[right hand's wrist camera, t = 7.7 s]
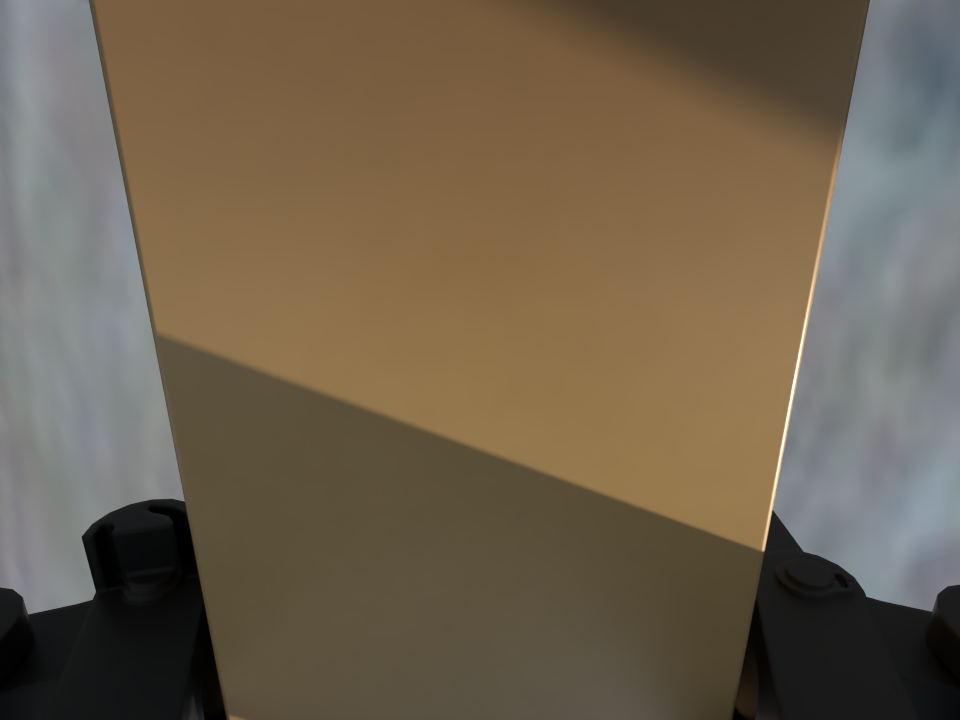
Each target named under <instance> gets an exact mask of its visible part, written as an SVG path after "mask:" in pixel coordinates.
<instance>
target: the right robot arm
mask: <svg viewBox="0 0 960 720" xmlns="http://www.w3.org/2000/svg"><path fill="white" fill-rule="evenodd" d="M82 540H83V544H84V548H85V551H86V555H87V559H88V563H89V567H90V570H91V574H92V578H93V582H94V585H95V589H96V593H95V596H94V598H93V600H90V601H87V602H83V603H80V604H76V605H71V606H66V607H62V608H57V609H52V610H48V611H43V612H38V613H34V614H29V615H28V613H27V610H26V607H25V603H24V600H23V597H22V596H20V595H19V594H18V593H17V592H15V591H14V590H13V589H6V588H0V720H227V719H226V713H225V708H224V703H223V698H222V692H221V687H220V682H219V677H218V672H217V666H216V661H215V656H214V651H213V645H212V640H211V635H210V630H209V625H208V619H207V614H206V609H205V604H204V598H203V593H202V588H201V583H200V577H199V572H198V567H197V562H196V557H195V551H194V546H193V541H192V536H191V530H190V525H189V520H188V515H187V510H186V504H185V502H183V501H179V500H175V499H154V500H148V501H143V502H139V503H134V504H130V505H128V506H125V507H123V508H120V509H118V510H115V511H113V512H110V513H109V514H107V515H106V516H104V517H102V518H101V519H99V520H98V521H96V522H95V523H93V524H92V525H91V526H90V528H89V529H88V530H87V531H86V532H85V533H84V535H83V536H82ZM732 720H960V585H955V586H948V587H946V588H945V589H944V590H943V591H941V592H940V593H939V594H938V595H937V598H936V602H935V605H934V608H933V611H932V612H930V611H925V610H921V609H916V608H911V607H907V606H902V605H897V604H892V603H888V602H883V601H879V600H876V599H872V598H869V597H866V595H865V592H864V590H863V589H862V588H861V586H860V585H859V583H858V582H857V581H856V579H855V578H854V577H853V576H852V575H850V574H849V573H848V572H847V571H845V570H844V569H843V568H841V567H840V566H839V565H837V564H835V563H833V562H830V561H828V560H826V559H824V558H822V557H820V556H817V555H813V554H809V553H805V552H803V551H802V549H801V548H800V546H799V545H798V544H797V542H796V541H795V540H794V538H793V537H792V536H791V534H790V533H789V531H788V530H787V529H786V527H785V526H784V525H783V523H782V522H781V521H780V519H779V518H778V516H777V515H776V514H775V512H774V511H773V510H772V515H771V520H770V525H769V531H768V536H767V541H766V546H765V552H764V557H763V562H762V567H761V573H760V578H759V583H758V588H757V594H756V599H755V604H754V609H753V614H752V620H751V625H750V630H749V635H748V641H747V646H746V651H745V656H744V662H743V667H742V672H741V677H740V683H739V688H738V693H737V698H736V703H735V709H734V714H733V719H732Z"/></svg>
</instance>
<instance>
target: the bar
mask: <svg viewBox="0 0 960 720" xmlns="http://www.w3.org/2000/svg"><path fill="white" fill-rule="evenodd" d="M869 2H870V0H89V3H90V8H91V13H92V19H93V24H94V29H95V34H96V39H97V45H98V50H99V55H100V60H101V66H102V71H103V76H104V81H105V86H106V92H107V97H108V102H109V107H110V113H111V118H112V123H113V128H114V133H115V139H116V144H117V149H118V154H119V160H120V165H121V170H122V175H123V180H124V186H125V191H126V196H127V201H128V207H129V212H130V217H131V222H132V228H133V233H134V238H135V243H136V248H137V254H138V259H139V264H140V269H141V275H142V280H143V285H144V290H145V295H146V301H147V306H148V311H149V316H150V322H151V327H152V332H153V337H154V342H155V348H156V353H157V358H158V363H159V369H160V374H161V379H162V384H163V389H164V395H165V400H166V405H167V410H168V416H169V421H170V426H171V431H172V436H173V442H174V447H175V452H176V457H177V463H178V468H179V473H180V478H181V483H182V489H183V494H184V499H185V504H186V510H187V515H188V520H189V525H190V530H191V536H192V541H193V546H194V551H195V557H196V562H197V567H198V572H199V577H200V583H201V588H202V593H203V598H204V604H205V609H206V614H207V619H208V625H209V630H210V635H211V640H212V645H213V651H214V656H215V661H216V666H217V672H218V677H219V682H220V687H221V692H222V698H223V703H224V708H225V713H226V719H227V720H732V719H733V714H734V709H735V703H736V698H737V693H738V688H739V683H740V677H741V672H742V667H743V662H744V656H745V651H746V646H747V641H748V635H749V630H750V625H751V620H752V614H753V609H754V604H755V599H756V594H757V588H758V583H759V578H760V573H761V567H762V562H763V557H764V552H765V546H766V541H767V536H768V531H769V525H770V520H771V515H772V510H773V505H774V499H775V494H776V489H777V484H778V478H779V473H780V468H781V463H782V457H783V452H784V447H785V442H786V436H787V431H788V426H789V421H790V416H791V410H792V405H793V400H794V395H795V389H796V384H797V379H798V374H799V368H800V363H801V358H802V353H803V347H804V342H805V337H806V332H807V327H808V321H809V316H810V311H811V306H812V300H813V295H814V290H815V285H816V279H817V274H818V269H819V264H820V258H821V253H822V248H823V243H824V238H825V232H826V227H827V222H828V217H829V211H830V206H831V201H832V196H833V190H834V185H835V180H836V175H837V169H838V164H839V159H840V154H841V149H842V143H843V138H844V133H845V128H846V122H847V117H848V112H849V107H850V101H851V96H852V91H853V86H854V80H855V75H856V70H857V65H858V60H859V54H860V49H861V44H862V39H863V33H864V28H865V23H866V18H867V12H868V7H869Z"/></svg>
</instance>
